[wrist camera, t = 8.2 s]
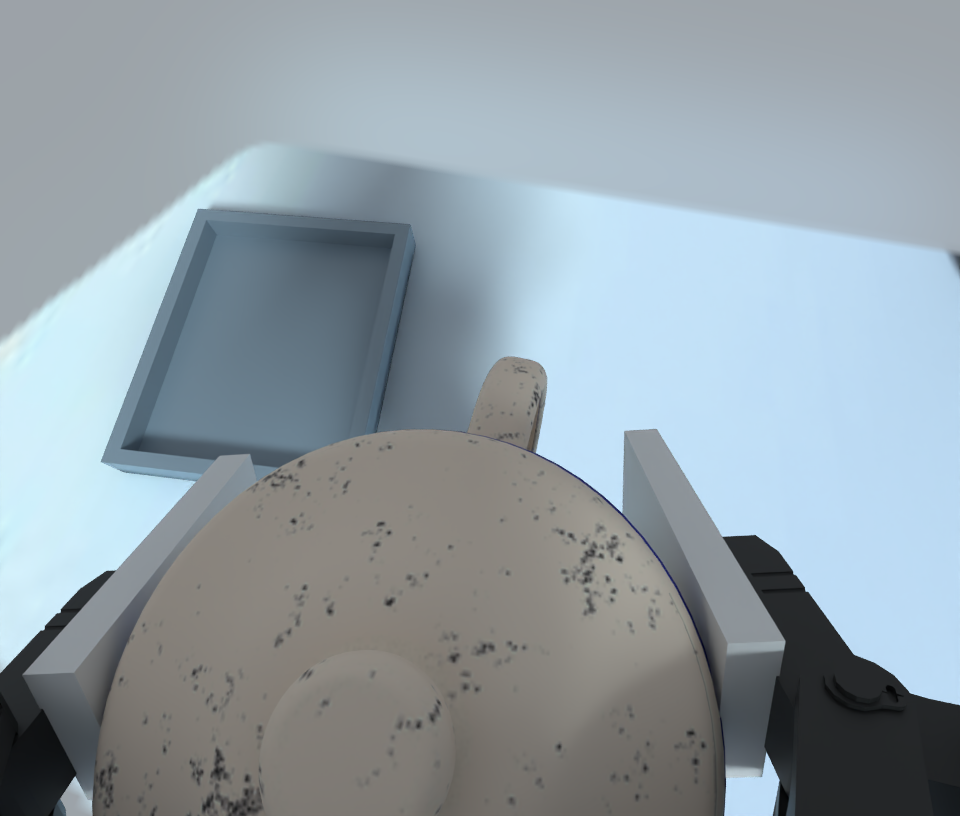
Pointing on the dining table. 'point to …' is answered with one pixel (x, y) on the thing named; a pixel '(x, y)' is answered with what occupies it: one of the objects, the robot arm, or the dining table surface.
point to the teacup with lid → (417, 644)
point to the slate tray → (265, 343)
